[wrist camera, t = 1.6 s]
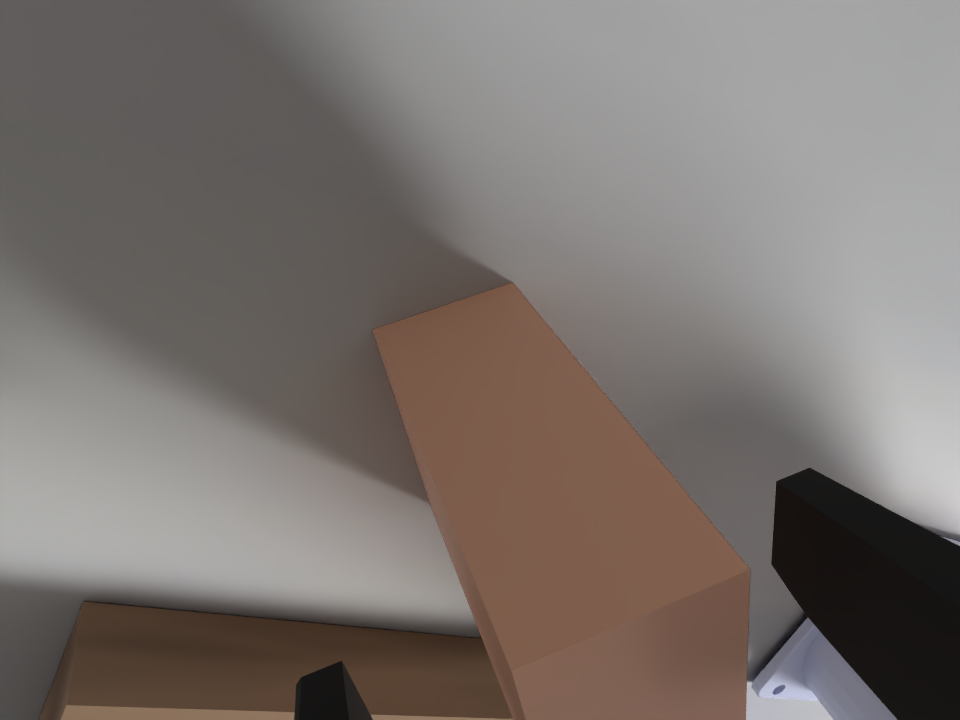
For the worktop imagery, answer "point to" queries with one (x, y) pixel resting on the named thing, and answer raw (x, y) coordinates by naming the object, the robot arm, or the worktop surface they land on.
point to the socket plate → (259, 668)
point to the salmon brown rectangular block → (565, 524)
